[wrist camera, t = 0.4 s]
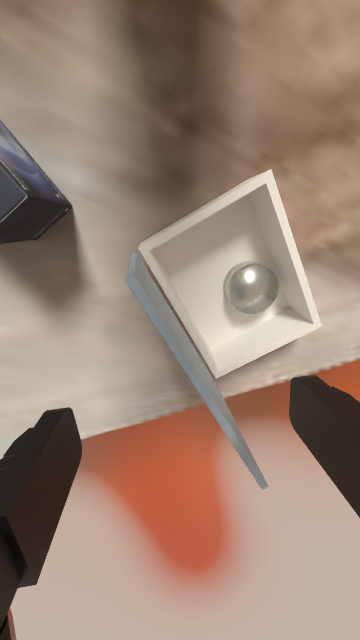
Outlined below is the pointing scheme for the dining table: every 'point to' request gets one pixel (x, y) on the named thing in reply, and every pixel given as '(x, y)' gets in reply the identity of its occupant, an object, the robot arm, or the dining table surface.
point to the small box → (25, 194)
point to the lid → (187, 357)
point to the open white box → (216, 261)
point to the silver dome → (251, 287)
